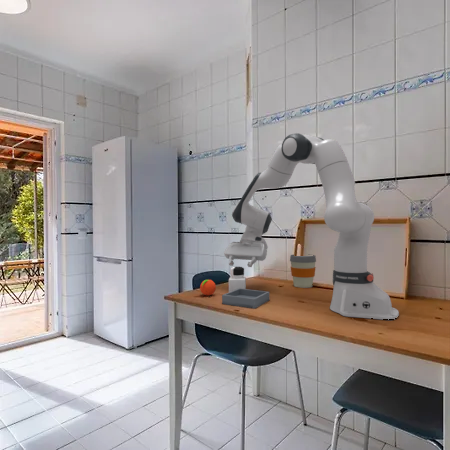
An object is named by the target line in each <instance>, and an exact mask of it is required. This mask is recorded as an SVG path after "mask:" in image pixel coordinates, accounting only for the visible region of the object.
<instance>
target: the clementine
mask: <svg viewBox="0 0 450 450" xmlns="http://www.w3.org/2000/svg"><path fill="white" fill-rule="evenodd" d="M216 286H217V285H216V283H215V282H214V281H213V280H212V279H205V280H203V281H202V282H201V283H200V286H199V289H200V292H201V294H203V295H204V296H206V297H207V296H212V295H213V294H214V293H215V292H216V289H217V287H216Z"/></svg>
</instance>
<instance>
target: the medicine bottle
mask: <svg viewBox="0 0 450 450" xmlns="http://www.w3.org/2000/svg"><path fill="white" fill-rule="evenodd" d="M229 273H230V276H229V278H228V293H229V292H231V291H234V290H236V289H239V288H240V289H247V288H246V286H247V285H246V284H247V283H246V282H247V281H246V280H247V278H246V276H245V268H244V267H243V266H231V267H230V272H229Z"/></svg>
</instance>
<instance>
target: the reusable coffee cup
mask: <svg viewBox="0 0 450 450" xmlns="http://www.w3.org/2000/svg"><path fill="white" fill-rule="evenodd" d="M294 255H295V254H290V256H289V257H290V258H289V262H290V272H291V273H290V274H291V276H292V283H293V286H294V287H295V288H296V287H297V288H303V289H306V288H307V289H308V288H313V285H312V284H314V277H315V276H316V269H317V267H316V262H317V257H316V255H315V254H312V255H313V256H294Z"/></svg>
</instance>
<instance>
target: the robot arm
mask: <svg viewBox="0 0 450 450" xmlns="http://www.w3.org/2000/svg"><path fill="white" fill-rule="evenodd" d="M299 163H302V164H308V165H309V164H312V165H313V164H314V165H315V167H316V170H317V173H318V175H319V179H320V182H321V186H322V188H323V192H324V198H325V211H324V216H323V218H324V219H323V220H324V223H325V225H326V226H327V227H328V228H329V229H330V230H332V231H335V232H337V233H339V234H338V239H337V242H336V245H335V246H334V249H333V254H334V256H333V257H334V258H333V268H334V269H333V270H332V285H333V290H332V291H333V292H332V298H331V302H330V306H329V310H331V311H332V312H335V313H338V314H340V315H341V316H343V317H347V318H348V317H349V318H360V319H361V318H364V319H371V318H373V319H374V320H383V319H388V320H387V321H390V320H389V319H394V320H396V319H395V318H397V317H398V316H400V312H399V309H397V308H395V307H392V306H393V305H392V304H393V303H392V300H391V298H390V296H389V294H388V293H387V292H386V291H385V290H383V289H382V288H381V287H379V286H378V285H377V284H375V283H374V279H375V278H374V273H372V272H370V271H368V249H369V248H368V247H369V246H368V245H369V240H370V236H371V230H372V225H373V223H374V221H375V213H374V211H373V210H372V209H371V207H370V206H368V205H367V204H365V203H362V202H358V201H357V198H356V193H355V192H356V190H355V185H356V181H355V177H354V175H353V173H352V172H353V171H352V169H351V166H350V163H349V161H348V159H347V156H346V154H345V152H344V150H343V148H342V147H341V145H340V143H339V142H338V141H337V140H336V139H334V138H327V139H323V138H322V137H317V136H315V135H311V134H305V133H304V134H303V133H297V132H296V133H292V134H288V135H286V137H285V138H284V139H283V141H282V143H280V144H279V145H278V146H277V148H276V149H275V151H274V153H273V154H272V156H271V157H270V160H269V162H268V165H267V167H266V169H264V170H263V171H262V172H258V173H256V174H255V176H254V177H253V179H252V180H251V182H250V183H249V185H248V187H247V188H246V190H245V192H244V193H243V195H242V196H241V199H240V200H239V201H238V202H237V204H236V205H235V206H234V207H233V209H232V214H231V215H232V216H231V217H232V219H233V220H234V221H235V223H238V224H241V225H245V226H246V227H245V231H243V233H242V235H241V238H240V240H239V241H232V242H230V243H229V244H228V246H227V247H226V249H225V250H224V251H223V253H224V257H225V258H226V259H229V262H228V265H229V266H231V267H234V264H235V261H234V260H245V261H246V260H247V261H248V262H247V267H248V268H252V267H253V265H255V263H257V261H258V262H260V261H261V262H263V261H265V260H266V258H267V255H268V248H269V246H268V244H267V242H266V240H265V238H264V237H262V236H263V235H264V234H266V233H268V231H269V228H270V225H271V222H272V220H273V218H272V215H271V213H270V212H269V211H266V210H264V209H262V208H259V207H256V206H254V205H251V204H250V203H249V202H250V201H251V199H252V197H253V196H254V194H255V193H256V192H257V191H258V190H261V189H280V188H283V187H285V186H286V185H287V184H288V183H289V181H290V179H291V177H292V175H293V173H294V170H295V168H296V166H297V165H298V164H299ZM398 318H399V317H398ZM398 318H397V319H398Z"/></svg>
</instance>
